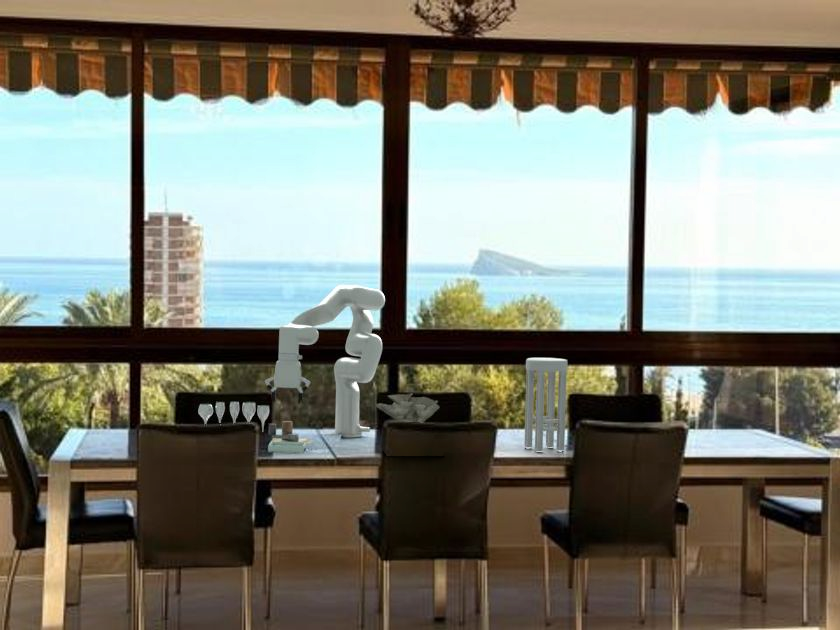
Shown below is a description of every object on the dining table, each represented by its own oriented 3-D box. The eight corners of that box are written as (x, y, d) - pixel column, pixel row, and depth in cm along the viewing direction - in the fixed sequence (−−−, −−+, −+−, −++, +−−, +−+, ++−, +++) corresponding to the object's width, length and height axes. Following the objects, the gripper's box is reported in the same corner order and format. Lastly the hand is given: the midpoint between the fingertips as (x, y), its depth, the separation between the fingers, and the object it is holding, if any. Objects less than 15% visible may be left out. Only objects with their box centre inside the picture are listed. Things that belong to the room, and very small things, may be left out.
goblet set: (269, 434, 499) (269, 401, 498) (268, 436, 493) (268, 403, 492) (198, 433, 497) (199, 400, 496) (197, 435, 491) (197, 402, 490)
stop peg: (292, 439, 476) (293, 421, 476) (291, 440, 472) (292, 422, 472) (282, 438, 476) (282, 420, 476) (281, 440, 472) (281, 422, 472)
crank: (299, 440, 471) (299, 424, 471) (298, 442, 467) (298, 425, 467) (269, 439, 471) (269, 423, 471) (267, 441, 467) (268, 424, 467)
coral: (376, 456, 449) (377, 397, 448) (372, 448, 469) (374, 391, 468) (444, 457, 451) (446, 398, 450) (438, 448, 471) (439, 392, 471)
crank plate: (312, 442, 478) (312, 438, 478) (309, 448, 463) (309, 444, 463) (273, 441, 478) (273, 437, 478) (269, 447, 463) (269, 443, 463)
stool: (517, 448, 479) (519, 357, 477) (553, 446, 484) (555, 357, 483) (534, 454, 464) (537, 360, 463) (571, 452, 470) (574, 360, 468)
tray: (306, 448, 462) (306, 442, 462) (303, 453, 452) (303, 446, 452) (271, 448, 462) (271, 441, 462) (268, 452, 452) (268, 445, 452)
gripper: (311, 358, 477) (310, 402, 477) (266, 356, 477) (265, 400, 477) (310, 359, 469) (308, 404, 470) (264, 357, 469) (263, 402, 470)
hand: (286, 402), depth 473 cm, fingers open, 9 cm apart
